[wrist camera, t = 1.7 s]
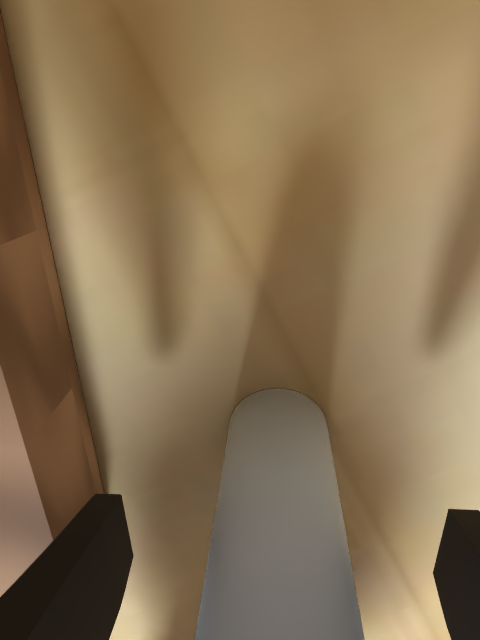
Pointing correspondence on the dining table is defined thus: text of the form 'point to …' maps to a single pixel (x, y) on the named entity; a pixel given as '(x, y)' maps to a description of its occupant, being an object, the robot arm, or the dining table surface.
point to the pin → (278, 530)
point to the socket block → (34, 365)
